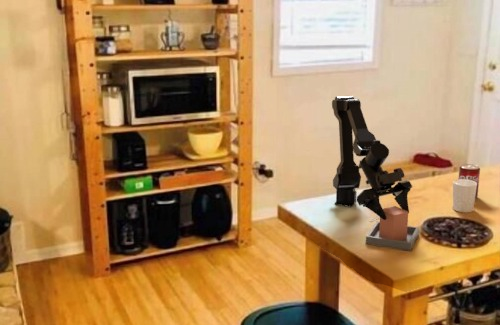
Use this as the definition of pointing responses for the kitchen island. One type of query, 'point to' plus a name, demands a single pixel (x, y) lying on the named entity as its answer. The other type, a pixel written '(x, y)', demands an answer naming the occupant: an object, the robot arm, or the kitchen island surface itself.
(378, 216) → the butter knife
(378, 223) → the charcoal tray
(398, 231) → the terracotta block
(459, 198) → the white cup
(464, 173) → the soda can
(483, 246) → the kitchen island surface
